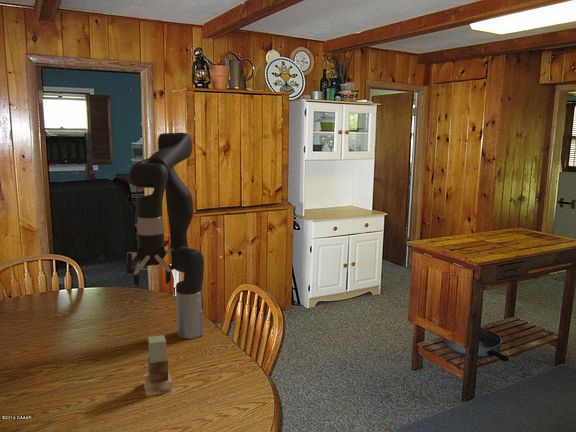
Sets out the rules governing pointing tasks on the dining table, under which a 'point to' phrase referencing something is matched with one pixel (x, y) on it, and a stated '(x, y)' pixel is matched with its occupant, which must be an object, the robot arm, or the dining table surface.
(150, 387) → the maple slab
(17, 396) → the dining table surface
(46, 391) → the dining table surface
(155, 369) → the walnut block
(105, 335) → the dining table surface
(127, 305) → the dining table surface
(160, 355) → the sage block
